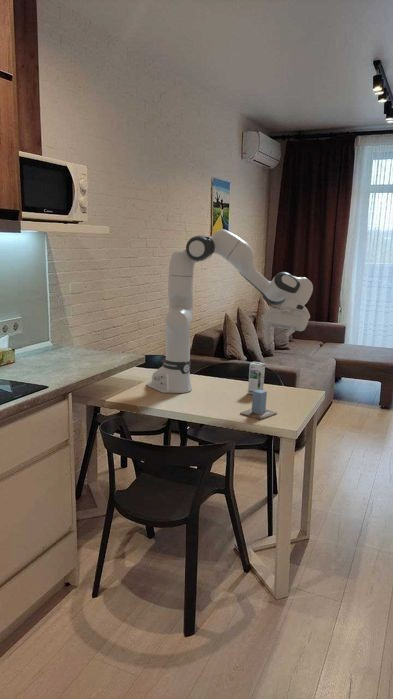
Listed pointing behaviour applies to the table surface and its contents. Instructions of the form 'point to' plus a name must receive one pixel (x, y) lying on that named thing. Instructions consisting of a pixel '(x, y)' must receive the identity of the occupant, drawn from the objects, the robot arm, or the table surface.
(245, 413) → the letter card
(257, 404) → the slate block
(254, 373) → the syrup box
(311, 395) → the table surface
